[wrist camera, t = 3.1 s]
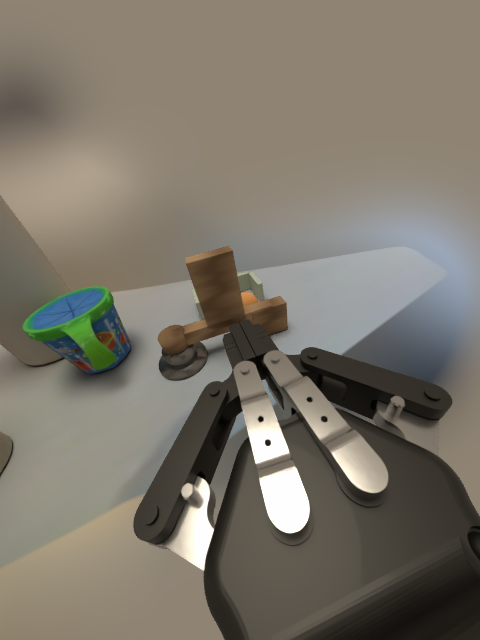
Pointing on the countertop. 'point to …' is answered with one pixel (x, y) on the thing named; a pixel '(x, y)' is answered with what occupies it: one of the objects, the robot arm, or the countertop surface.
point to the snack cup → (82, 329)
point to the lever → (220, 303)
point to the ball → (248, 298)
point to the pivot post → (183, 362)
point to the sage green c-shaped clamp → (241, 287)
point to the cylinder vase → (24, 288)
